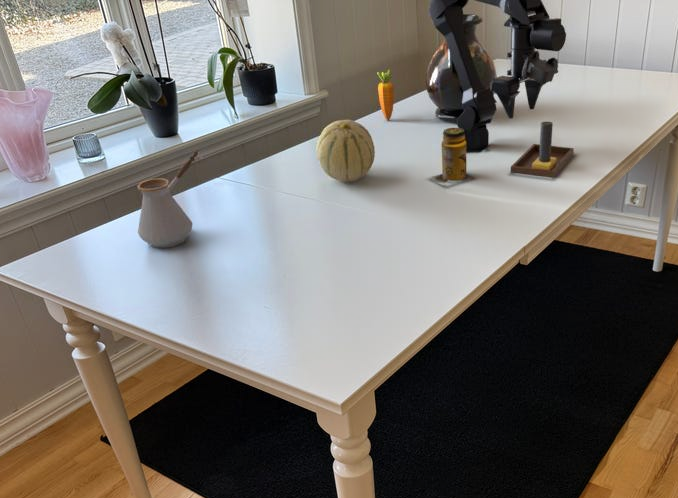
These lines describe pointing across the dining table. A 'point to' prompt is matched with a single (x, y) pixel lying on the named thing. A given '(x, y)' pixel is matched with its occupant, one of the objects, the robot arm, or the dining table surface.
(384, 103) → the carrot
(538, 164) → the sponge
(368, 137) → the cantaloupe
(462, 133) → the condiment
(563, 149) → the tray
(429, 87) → the amphora vase
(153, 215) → the coffee pot
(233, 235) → the dining table surface
